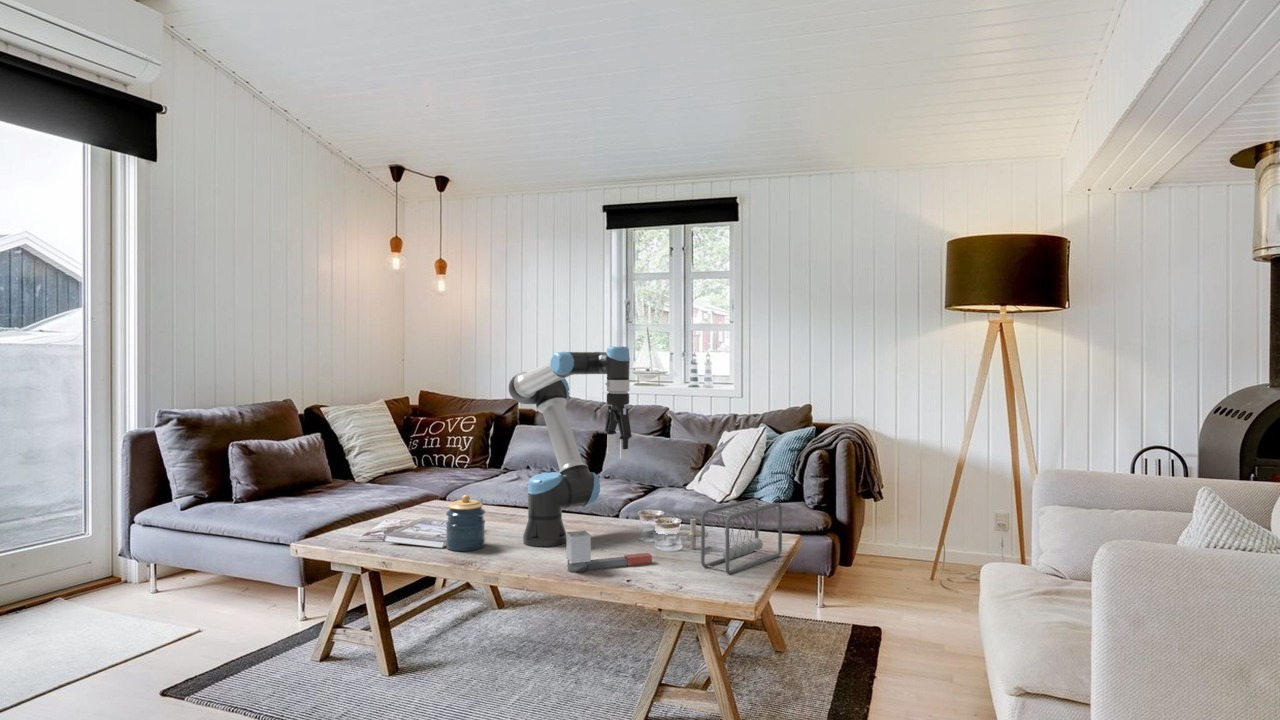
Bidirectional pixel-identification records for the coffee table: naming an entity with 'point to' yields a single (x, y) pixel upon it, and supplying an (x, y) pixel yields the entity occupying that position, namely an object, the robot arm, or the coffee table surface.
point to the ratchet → (611, 562)
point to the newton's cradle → (742, 547)
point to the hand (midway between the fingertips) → (617, 456)
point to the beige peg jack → (692, 533)
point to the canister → (465, 525)
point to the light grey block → (578, 547)
